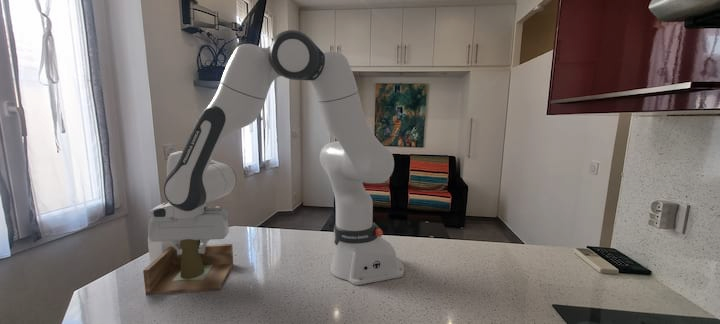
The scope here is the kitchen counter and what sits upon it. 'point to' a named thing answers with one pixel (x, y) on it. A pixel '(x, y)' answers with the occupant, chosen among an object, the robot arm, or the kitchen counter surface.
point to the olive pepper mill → (191, 259)
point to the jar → (157, 248)
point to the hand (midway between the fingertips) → (191, 253)
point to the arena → (167, 278)
